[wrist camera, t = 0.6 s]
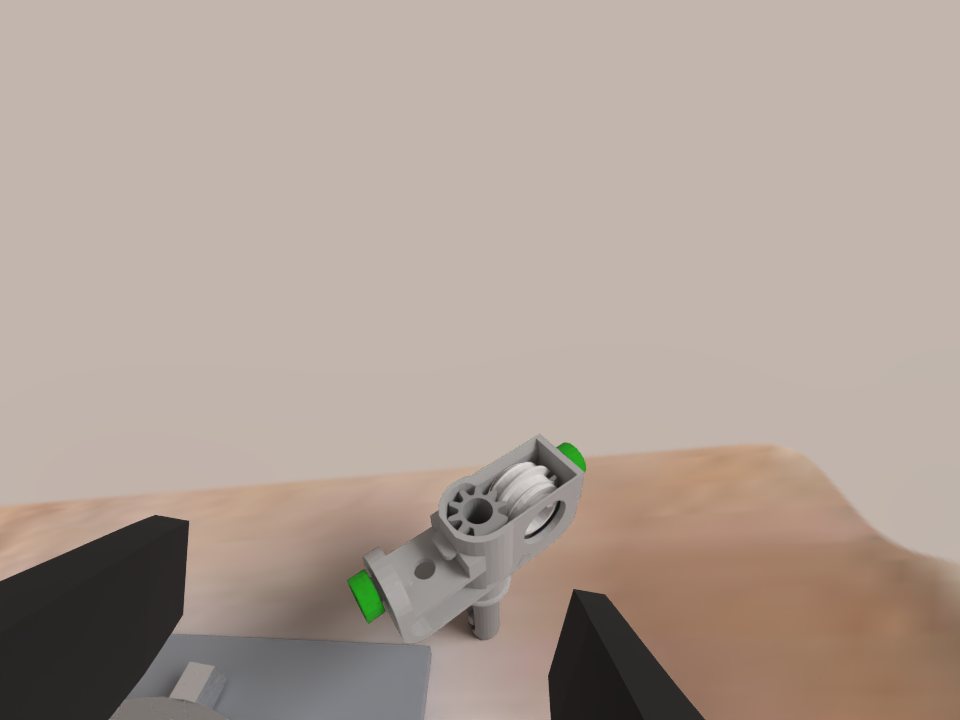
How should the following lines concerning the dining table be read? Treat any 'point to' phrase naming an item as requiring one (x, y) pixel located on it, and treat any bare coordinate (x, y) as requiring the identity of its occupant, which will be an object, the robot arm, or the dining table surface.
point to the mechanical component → (475, 543)
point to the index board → (299, 677)
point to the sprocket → (180, 698)
